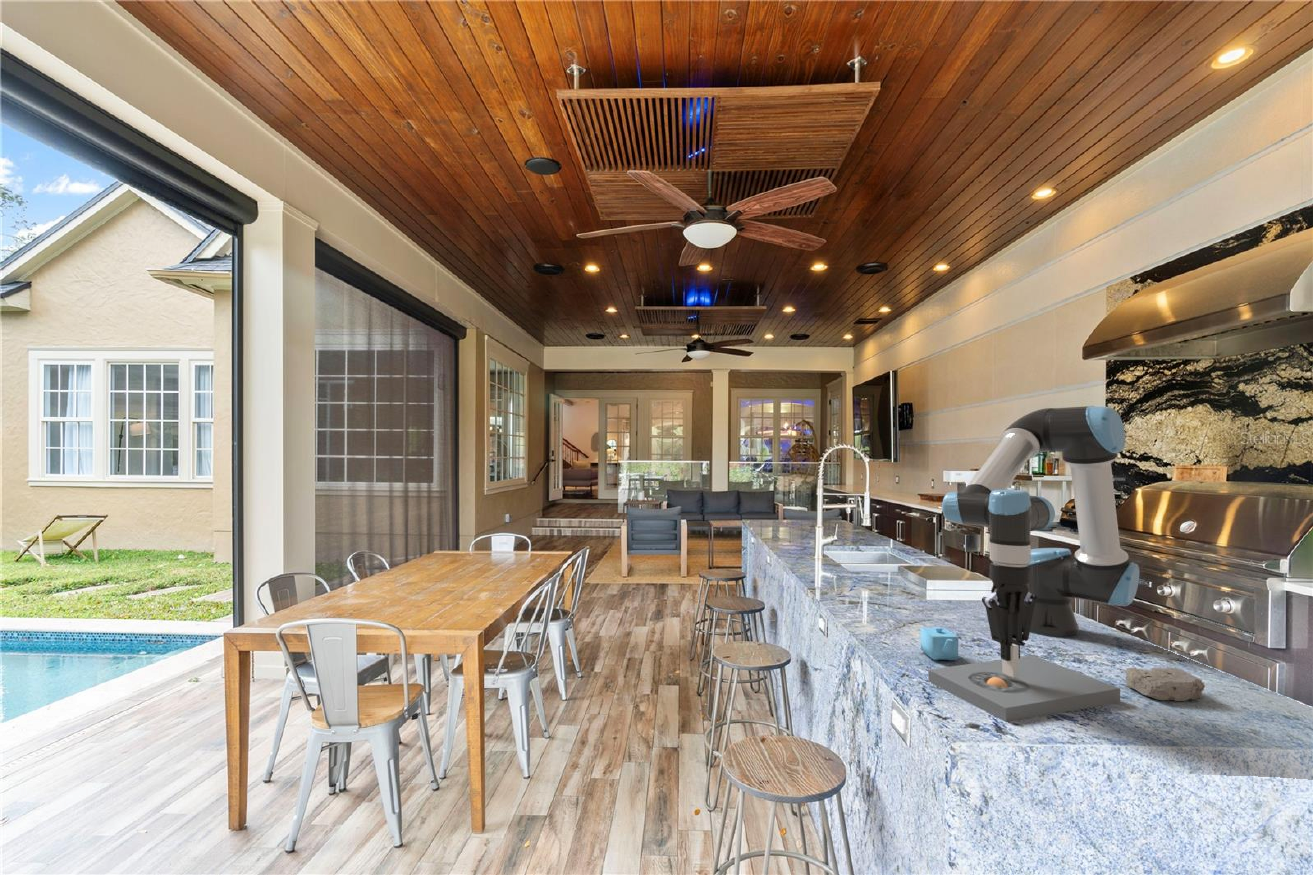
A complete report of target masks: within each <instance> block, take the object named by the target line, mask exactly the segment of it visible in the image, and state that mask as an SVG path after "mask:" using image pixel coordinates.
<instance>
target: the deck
mask: <svg viewBox="0 0 1313 875" xmlns="http://www.w3.org/2000/svg"><path fill="white" fill-rule="evenodd" d="M927 671H928V674H927V676H928V683H930V682H931V683H930V684H931V685H934V686H936V687H938V688H939V687H940V688H939V689H942V690H944V691H946V692H947V691H948V692H947V693H949V694H951V695H953V696H955V697H956V698H959V699H960V700H963V701H964V700H965V702H966V703H968V704H971V705H972V706H974V707H975V708H978V709H980V710H982V711H984V712H986V714H987V713H988V714H989V715H992V716H994V717H996V718H997V719H999V720H1001V721H1003V722H1005V723H1008V722H1013V721H1019V720H1020V721H1021V720H1024V719H1025V720H1026V719H1031V718H1036V717H1037V716H1038V717H1041V716H1042V717H1043V716H1047V715H1048V716H1049V715H1055V714H1060V713H1066V712H1073V711H1077V710H1083V709H1088V708H1090V709H1091V708H1096V707H1101V706H1106V705H1107V706H1108V705H1112V704H1114V705H1115V704H1119V703H1121V688H1120V687H1118V686H1116V685H1113V684H1109V683H1107V682H1104V681H1102V680H1099V679H1097V678H1095V677H1092V676H1089V675H1086V674H1083V673H1080V672H1079V671H1076V670H1074V669H1070V668H1067V667H1065V666H1062V665H1060V664H1057V663H1055V662H1053V661H1049V660H1047V659H1045V658H1042V657H1038V656H1036V655H1034V654H1030V655H1024V656H1020V659H1019V677H1015V678H1013V677H1010V676H1008V675H1006V674H1004V673H1002V659H995V660H988V661H982V662H981V661H980V662H974V663H973V662H972V663H967V664H959V665H952V666H946V667H938V668H933V669H928V670H927ZM992 677H998V678H1001V679H1002V680H1004V681H1005V682H1006V684H1007V686H1008V688H1005V687H997V686H993V685H990V684H988V683H987V681H988V680H989V679H990V678H992Z"/></svg>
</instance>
